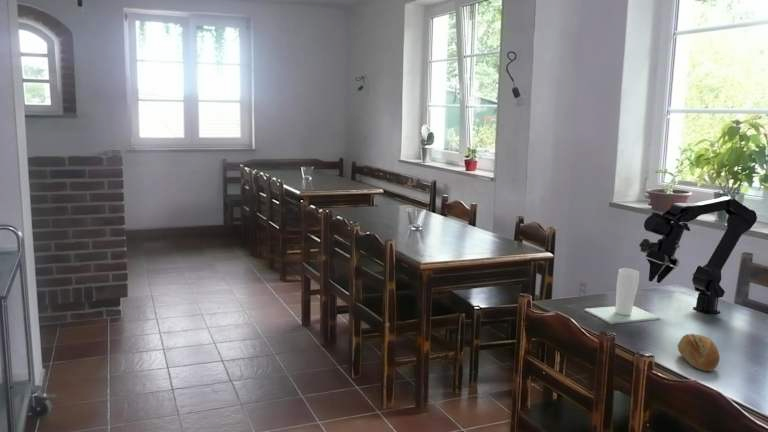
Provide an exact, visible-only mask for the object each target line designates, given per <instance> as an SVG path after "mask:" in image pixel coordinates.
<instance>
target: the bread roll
mask: <svg viewBox="0 0 768 432" xmlns="http://www.w3.org/2000/svg"><path fill="white" fill-rule="evenodd" d="M677 350H678V352H679V354H680V356H682V358H683V359H684V360H686V361H687V363H689V364H690V365H691V366H693V367H694V368H696V369H698V370H700V371H705V372H712V371H714V370H715V369H716V368H717V367H718V365H719V363H720V353H719V349H718V348H717V346H716V344H715V343H714V341H713V340H712V339H710V337H707V336H705V335H701V334H695V333H690V334H685V335H683V336H682V337H681V338H680V340H679V342H678V343H677Z"/></svg>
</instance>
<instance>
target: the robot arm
mask: <svg viewBox="0 0 768 432" xmlns="http://www.w3.org/2000/svg"><path fill="white" fill-rule="evenodd" d="M721 211H723V212H724V213H725V214H726V215H727V216H728V217H727V219H726V226H727V227H726V230H725V232H724V233H723V235H722V237H721V239H720V240H719V242H718V244H717V245H716V248H715V249H714V251H713V253H712V254H711V256H710V258H709V260H708V261H707V263H705V265H703V266H702V265H698V266H697V267H696V269H695V271H694V273H693V274H692V279H691V282H692V285H693V287H694V291H695V292H698V294H697V297H696V303H695V306H693V307H692V309H694V310H696V311H698V312H700V313H703V314H706V315H709V314H710V315H711V314H720V313H721V310H718V305H719V299H720V298H723V297H724V295H725V294H726V291H725V290H724V288H723V287H722V286H721V285H720V283H721V281H722V270H723V268H724V266H725V264H726V263H727V261H728V259H729V258H730V257H731V254H732V252H733V251H734V249H735V247H736V245H737V243H738V242H739V240H740V238H741V236H743V235H744V233H747V232H749V231H750V230H751V229H752V228H753V227H754V225H755V224H756V222H757V219H758V216H757V213H756V211H755V210H754V209H750V208H749V207H748V206H746V205H744V204H743V203H741V202H739V201H738V200H737V199H736V198H734V197H729V196H721V197H718V198H714V199H709V200H704V201H698V202H695V203H692V202H691V203H688V202H675V203H672V204H671V206H670V207H669V209H667V210H665V211H664V212H663V213H661V214H660V213H659V212H655V211H653V212H652V213H651V215H649V216H648V217H647V218H646V219H645V221H644V223H643V227H644V230H645V231H646V232H650V233H652V234H655V235H658V236H661V238H658V239H657V242H654V241H652V242H651V241H650V239H649V238H643V239H642V241H641V242H640V243H639V247H640V253H641V252H642V253H646V254H645V257H646V261H647V262H648V264H649V270H648V271H649V273H648V282H653V281H654V280H655V279H656V283H657V284H660V283H662V282H663V280H665V279H666V278H667V277H668V276H669V275H670V274H671V273H672V272H673V271H674V270H676V269H677V268H678V267H679V265H680V260H679V258H676V256H675V255H676V252H677V249H680V242H681V239H682V237H683V234H684V232H685V231H687V232H690V231H691V228H690V227H689V224H688V223H689V222H691V221H694V220H696V219H698V217H701V216H702V215H708V214H711V213H712V214H713V213H717V212H721ZM656 277H657V278H656Z"/></svg>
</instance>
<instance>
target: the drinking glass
mask: <svg viewBox="0 0 768 432" xmlns="http://www.w3.org/2000/svg"><path fill="white" fill-rule="evenodd" d="M639 281H640V271H638V270H636V269H633V268H628V267H622V268H619V269H618V272H617V279H616V293H615V306H616V307H615V311H616V312H617V313H618V314H621V315H630V314H631V313H632V307H633V306H634V303H635V298H636V296H637V295H636V294H637V292H638V291H637V290H638V286H639Z"/></svg>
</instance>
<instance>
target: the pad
mask: <svg viewBox="0 0 768 432" xmlns="http://www.w3.org/2000/svg"><path fill="white" fill-rule="evenodd" d="M615 307H616V305H615V306H614V305H613V306H603V307H591V308H590V307H589V308H584V310H583V311H585V312H587V314H588V313H589V314H591V315H593V316H595V317H596V318H598V319H600V320H603V321H604V322H606V323H608V324H610V325H613V324H614V325H615V324H623V323H624V324H625V323H636V322H646V321H657V320H659V321H660V320H661V317H660V316H658V315H655V314H653V313H651V312H650V311H649V312H648V311H646V310H643V309H642V308H639V307H637V306H635V305H633V307H632V313H631V314H630V315H621V314H618V313H617V312H616V311H615Z"/></svg>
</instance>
